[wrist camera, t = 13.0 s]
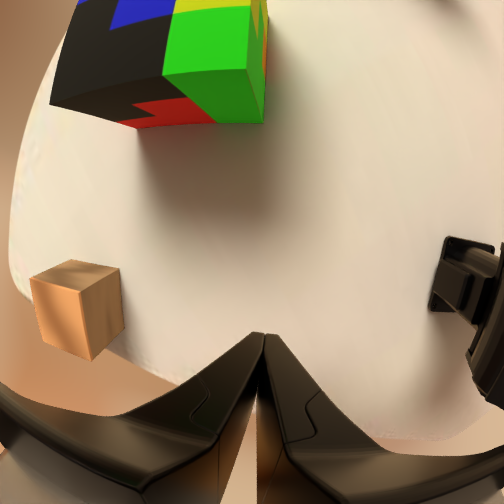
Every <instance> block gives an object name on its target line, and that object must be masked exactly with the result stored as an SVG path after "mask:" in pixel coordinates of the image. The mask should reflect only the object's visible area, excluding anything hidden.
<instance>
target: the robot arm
mask: <svg viewBox="0 0 504 504" xmlns="http://www.w3.org/2000/svg"><path fill="white" fill-rule="evenodd" d="M450 240H451V243H450V244H449V241H450ZM490 249H491V251H490ZM500 250H501V254H500V257H498V256H495V255H494V253H495V248H494V246H492V245H489V244H485V243H480V242H476V241H471V240H467V239H462V238H457V237H453V236H447V237H446V238H445V240H444V245H443V249H442V254H441V259H440V261H439V265H438V269H437V273H436V277H435V281H434V285H433V290H432V293H431V297H430V300H429V303H428V308H429V309H430V310H431V311H433V312H457V313H458V314H459V315H460V316H461V317H462V318H464V319H465V320H466V321H467V322H468V323H469V324H470V325H471V326H472V327H474V328H475V329H476V330H477V332H476V335H475V337H474V339H473V342H472V344H471V346H470V349H468V351H467V353H466V355H465V356H466V359H467V361H468V364H469V367H470V369H471V372H472V375H473V376H472V379H473V382H474V383H475V384H476V386H477V389H478V391H479V392H480V394H481V395H482V396H484V397H485V400H486V401H487V402H489V403H491V404H494V405H496V406H498V407H499V408H501V409H503V410H504V243H503V242H502V243H501V248H500ZM433 304H435V305H434V306H433ZM432 306H433V307H432ZM258 381H259V382H258ZM257 388H258V389H257ZM256 394H257V398H256ZM255 398H256V418H257V419H256V420H257V421H256V422H257V504H504V496H503V494H502V492H501V489H502V488H503V487H504V445H502V446H499V447H496V448H494V449H492V450H489V451H487V452H484V453H479V454H474V455H466V456H424V455H408V454H398V453H394V452H391V451H388V450H386V449H384V448H383V447H381V446H380V445H378V444H377V443H376V442H375V441H373V440H372V439H371V438H370V437H369V436H368V435H367V434H365V433H364V432H363V431H362V430H361V429H360V428H359V427H358V426H356V425H355V424H354V423H353V422H352V421H351V420H350V419H349V418H348V417H347V416H346V415H344V414H343V413H342V412H341V411H340V410H339V409H338V408H337V407H336V405H335V404H334V403H333V402H332V401H331V400H330V399H329V398H328V396H327V395H326V394H325V393H324V391H322V389H321V388H320V387H319V386H318V384H317V383H316V382H315V381H314V379H313V378H312V377H311V376H310V374H309V373H308V372H307V371H306V369H305V368H304V367H303V366H302V364H301V363H300V362H299V361H298V359H297V358H296V357H295V356H294V354H293V353H292V352H291V351H290V349H289V348H288V347H287V346H286V344H285V343H284V342H283V340H282V339H281V338H280V337H279V335H277V334H268V333H267V334H266V335H265V334H264V333H260V332H251V333H250V334H249V335H247V336H246V337H245V338H244V339H242V340H241V341H240V342H239V343H237V344H236V345H235V346H233V347H232V348H231V349H229V350H228V351H227V352H225V353H224V354H223V355H222V356H220V357H219V358H218V359H216V360H215V361H214V362H212V363H211V364H209V365H208V366H207V367H205V368H204V369H203V370H201V371H200V372H199V373H197V375H194V376H193V377H191V378H190V379H189V380H187V381H186V382H184V383H183V384H181V385H180V386H178V387H176V388H175V389H173V390H171V391H169V392H167V393H166V394H164V395H162V396H160V397H158V398H156V399H154V400H152V401H150V402H148V403H146V404H144V405H141V406H140V407H137V408H135V409H133V410H131V411H129V412H126V413H124V414H120V415H117V416H109V417H107V416H106V417H105V416H97V415H91V414H85V413H80V412H75V411H70V410H66V409H61V408H57V407H53V406H49V405H45V404H41V403H38V402H35V401H32V400H30V399H27V398H25V397H23V396H21V395H18V394H17V393H15V392H14V391H12V390H11V389H10V388H8V387H7V386H6V385H4V384H3V383H1V382H0V442H1V444H2V445H3V446H4V448H5V449H4V451H3V452H2V453H1V454H0V504H220V502H221V500H222V497H223V494H224V492H225V489H226V486H227V483H228V480H229V478H230V475H231V472H232V469H233V466H234V463H235V460H236V458H237V455H238V452H239V448H240V446H241V442H242V440H243V436H244V434H245V431H246V427H247V424H248V421H249V418H250V415H251V412H252V409H253V405H254V402H255Z"/></svg>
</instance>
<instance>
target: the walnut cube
mask: <svg viewBox="0 0 504 504" xmlns="http://www.w3.org/2000/svg"><path fill="white" fill-rule="evenodd" d="M29 279H30V285H31V291H32V296H33V301H34V306H35V311H36V315H37V320H38V324H39V328H40V331H41V335H42V338H43V341H45V342H47V343H49V344H51V345H53V346H55V347H58V348H60V349H62V350H64V351H67V352H69V353H71V354H73V355H76V356H78V357H81V358H83V359H86V360H88V361H92V360H93V359H94V358H95V357H96V356H97V355H98V354H99V353H100V352H101V351H102V350H103V349H104V348H105V347H106V346H107V345H108V344H109V343H110V342H111V341H112V340H113V339H114V338H115V337H116V336H117V335H118V334H119V333H120V332H121V331H122V330H123V329H124V321H123V311H122V301H121V289H120V274H119V268H114V267H108V266H103V265H97V264H92V263H87V262H82V261H77V260H72V259H71V260H69V261H66V262H64V263H62V264H59V265H57V266H55V267H53V268H51V269H48V270H46V271H44V272H42V273H40V274H38V275H35V276H33V277H31V278H29Z"/></svg>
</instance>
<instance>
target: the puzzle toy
mask: <svg viewBox="0 0 504 504" xmlns="http://www.w3.org/2000/svg"><path fill="white" fill-rule="evenodd" d="M267 26H268V11H267V3H266V0H79V1H78V3H77V6H76V9H75V11H74V13H73V16H72V19H71V22H70V25H69V27H68V30H67V33H66V36H65V39H64V43H63V46H62V49H61V53H60V57H59V60H58V64H57V68H56V73H55V77H54V82H53V87H52V92H51V97H50V103H49V105H53V106H57V107H61V108H65V109H69V110H73V111H77V112H81V113H85V114H89V115H92V116H96V117H99V118H103V119H106V120H110V121H113V122H117V123H120V124H123V125H126V126H130V127H133V128H136V129H138V128H147V127H156V126H168V125H182V124H201V123H263V121H264V98H265V75H266V51H267Z"/></svg>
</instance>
